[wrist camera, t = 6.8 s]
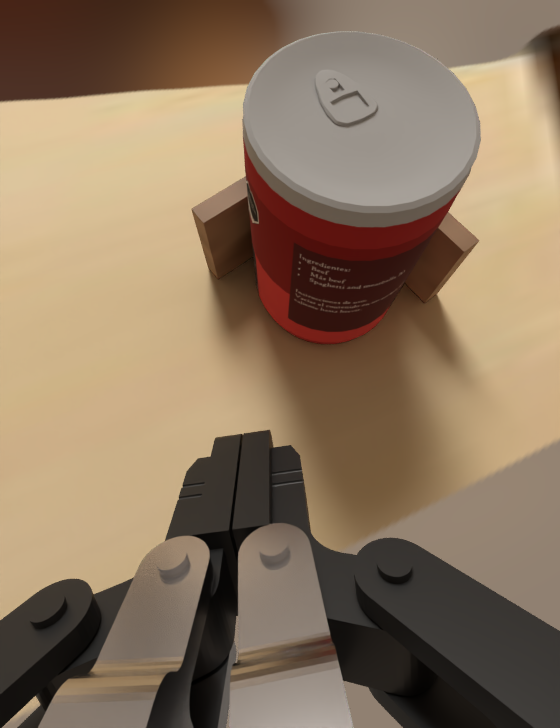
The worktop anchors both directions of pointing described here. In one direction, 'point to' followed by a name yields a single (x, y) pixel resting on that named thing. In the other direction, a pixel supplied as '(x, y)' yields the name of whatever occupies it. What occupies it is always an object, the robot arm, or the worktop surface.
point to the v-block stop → (234, 246)
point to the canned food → (349, 175)
